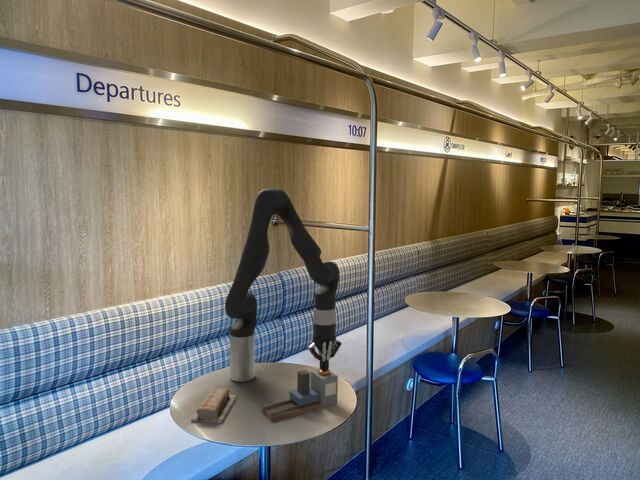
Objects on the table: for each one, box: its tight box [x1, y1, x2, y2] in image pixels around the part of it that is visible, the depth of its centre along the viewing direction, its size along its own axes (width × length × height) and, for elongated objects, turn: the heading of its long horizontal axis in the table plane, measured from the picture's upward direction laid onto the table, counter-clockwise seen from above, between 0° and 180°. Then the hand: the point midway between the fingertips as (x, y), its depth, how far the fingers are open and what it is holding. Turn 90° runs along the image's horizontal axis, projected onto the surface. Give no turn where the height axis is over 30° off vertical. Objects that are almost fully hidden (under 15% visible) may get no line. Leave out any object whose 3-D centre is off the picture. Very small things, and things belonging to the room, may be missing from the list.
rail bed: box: [261, 398, 322, 422], centre depth 156 cm, size 8×18×2 cm, turn 121°
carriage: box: [288, 369, 318, 406], centre depth 158 cm, size 7×7×9 cm
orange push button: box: [317, 368, 331, 376], centre depth 162 cm, size 4×4×6 cm
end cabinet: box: [310, 369, 339, 409], centre depth 162 cm, size 8×6×10 cm
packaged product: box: [190, 387, 237, 425], centre depth 156 cm, size 18×5×10 cm
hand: (324, 370), depth 162 cm, fingers closed
